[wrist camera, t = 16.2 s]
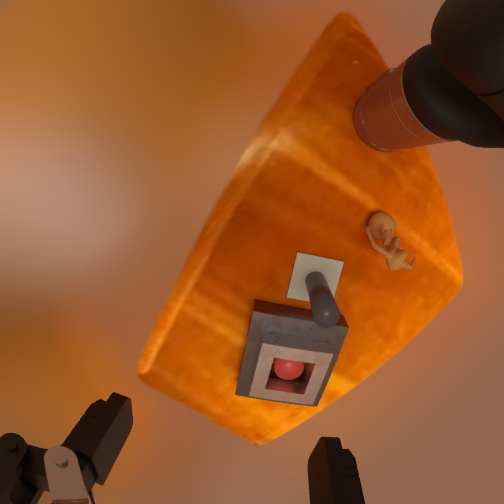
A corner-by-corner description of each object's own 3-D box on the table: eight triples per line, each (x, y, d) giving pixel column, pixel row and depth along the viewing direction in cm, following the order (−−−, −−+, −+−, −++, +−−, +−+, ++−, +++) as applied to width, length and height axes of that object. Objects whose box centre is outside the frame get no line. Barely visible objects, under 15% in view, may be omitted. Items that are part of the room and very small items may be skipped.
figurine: (404, 225, 40) (445, 242, 28) (386, 259, 41) (420, 288, 30) (360, 198, 40) (392, 206, 28) (341, 235, 41) (366, 257, 29)
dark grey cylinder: (308, 269, 42) (318, 302, 32) (327, 273, 42) (343, 306, 32) (302, 288, 43) (310, 325, 32) (322, 292, 43) (335, 329, 32)
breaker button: (277, 339, 45) (278, 354, 41) (304, 343, 45) (307, 359, 41) (271, 360, 46) (271, 377, 42) (297, 365, 46) (299, 381, 42)
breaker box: (255, 299, 44) (251, 321, 38) (343, 315, 44) (353, 337, 37) (237, 380, 48) (232, 406, 42) (314, 391, 48) (318, 418, 41)
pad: (297, 251, 42) (297, 252, 42) (343, 261, 42) (343, 261, 42) (286, 296, 44) (286, 297, 43) (330, 304, 44) (331, 305, 43)
